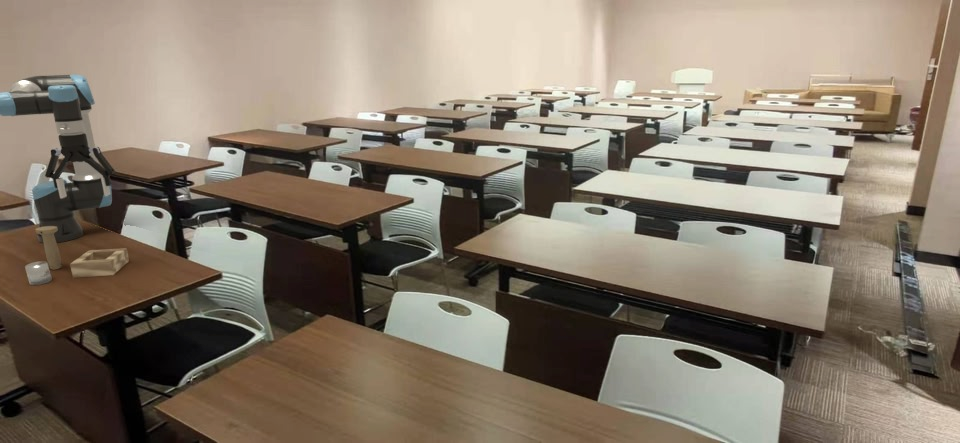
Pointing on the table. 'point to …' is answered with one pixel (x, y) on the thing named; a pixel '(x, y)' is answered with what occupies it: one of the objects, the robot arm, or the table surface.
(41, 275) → the round plug
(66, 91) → the robot arm
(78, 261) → the socket block
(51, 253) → the handle
